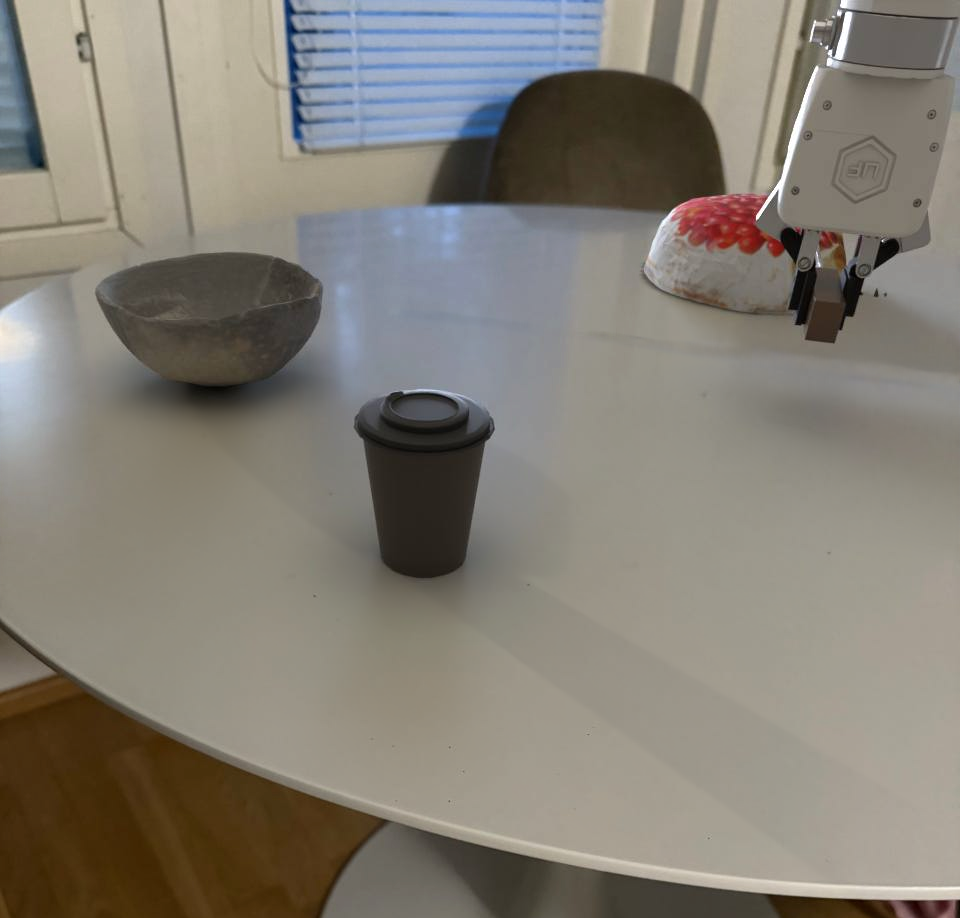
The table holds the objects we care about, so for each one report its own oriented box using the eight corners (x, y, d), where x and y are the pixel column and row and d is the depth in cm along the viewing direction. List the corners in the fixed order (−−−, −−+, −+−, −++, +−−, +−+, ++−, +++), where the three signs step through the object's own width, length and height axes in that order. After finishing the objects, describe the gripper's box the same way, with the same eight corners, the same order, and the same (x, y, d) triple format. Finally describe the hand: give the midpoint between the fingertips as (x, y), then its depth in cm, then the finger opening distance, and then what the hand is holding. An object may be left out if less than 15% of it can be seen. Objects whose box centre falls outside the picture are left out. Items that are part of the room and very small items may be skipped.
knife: (834, 343, 71) (846, 303, 69) (804, 340, 71) (815, 300, 70) (820, 268, 85) (829, 233, 83) (795, 265, 85) (804, 230, 83)
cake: (907, 327, 98) (939, 225, 92) (682, 331, 95) (700, 224, 89) (810, 261, 116) (832, 172, 110) (617, 262, 113) (629, 169, 106)
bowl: (206, 322, 91) (195, 233, 86) (365, 359, 85) (363, 267, 80) (64, 385, 78) (41, 285, 73) (240, 435, 72) (228, 330, 67)
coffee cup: (371, 516, 63) (367, 371, 57) (492, 526, 63) (501, 381, 57) (346, 583, 57) (338, 428, 51) (481, 595, 57) (489, 440, 51)
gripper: (768, 41, 61) (712, 325, 73) (1031, 62, 59) (930, 352, 70) (766, 31, 67) (714, 295, 78) (1004, 50, 65) (916, 319, 76)
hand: (817, 320), depth 74 cm, fingers closed on knife, 2 cm apart
